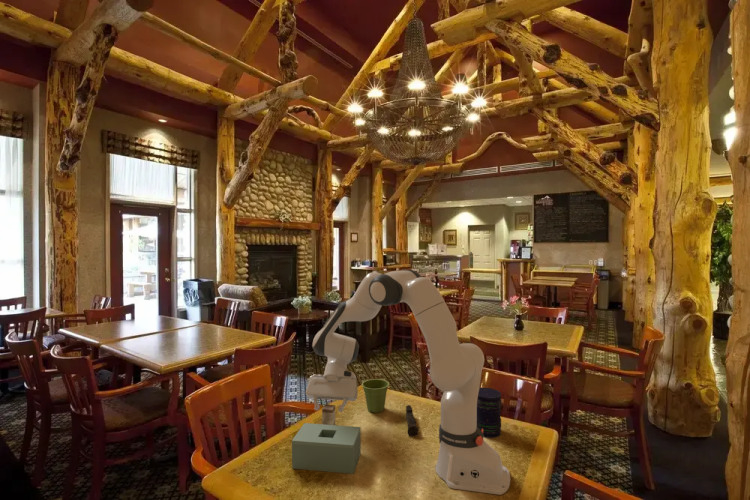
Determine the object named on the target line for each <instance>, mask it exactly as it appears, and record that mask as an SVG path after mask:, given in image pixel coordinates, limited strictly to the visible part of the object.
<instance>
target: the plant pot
mask: <svg viewBox="0 0 750 500" xmlns="http://www.w3.org/2000/svg"><path fill="white" fill-rule="evenodd" d="M389 386H390V382H389V381H387V380H386V379H382V378H381V379H380V378H372V379H367V380H364V381H363V382H362V383H361V387H362V388H363V392H364V396H365V403H366V407H367V408H366V409H367V411H368V412H370V413H371V412H372V413H375V414H377V413H381V412H383V411H385V405H386V399H387V392H388V387H389Z"/></svg>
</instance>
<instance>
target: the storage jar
mask: <svg viewBox="0 0 750 500" xmlns="http://www.w3.org/2000/svg"><path fill="white" fill-rule="evenodd" d="M501 409H502V393H501V392H500V391H499V390H497V389H495V388H492V387H491V388H490V387H479V393H478V399H477V427H478V428H479V429H480V430H481V431H482V428H483V438H488V439H495V438H498V437H500V436H501V435H502V418H501Z"/></svg>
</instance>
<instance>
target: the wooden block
mask: <svg viewBox="0 0 750 500" xmlns="http://www.w3.org/2000/svg"><path fill="white" fill-rule="evenodd" d="M321 424H324V425H336V405H334V404H324V406H323V407H322V408H321Z"/></svg>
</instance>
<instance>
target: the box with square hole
mask: <svg viewBox="0 0 750 500" xmlns="http://www.w3.org/2000/svg"><path fill="white" fill-rule="evenodd" d="M361 429H362V427H361V426H352V425H351V426H350V425H349V426H348V425H336V424H335V425H324V424H322V423H309V422H308V423H305V422H304V423H303V425H302V426H301V427H300V429H299V430H298V431H297V433H296V435H294V437H293V439H292V440H291V468H292V469H295V470H306V471H316V472H326V473H327V472H330V473H337V474H338V473H339V474H351V475H353V474H354V473H355V471H356V468H357V464H358V462H359V459H360V457H361V453H362V451H361V450H362V449H361V448H362V446H361V444H362V443H361V441H362V440H361V438H362V437H361V433H362V432H361V431H362V430H361Z"/></svg>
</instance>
